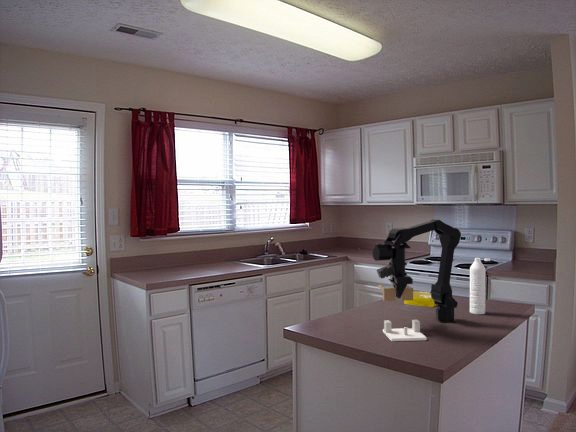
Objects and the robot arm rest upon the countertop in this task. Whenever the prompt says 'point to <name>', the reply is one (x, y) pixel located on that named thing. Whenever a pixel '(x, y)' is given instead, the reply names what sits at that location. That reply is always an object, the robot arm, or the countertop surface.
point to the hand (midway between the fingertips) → (398, 297)
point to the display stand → (404, 332)
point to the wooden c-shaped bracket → (390, 292)
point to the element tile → (421, 299)
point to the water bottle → (477, 287)
